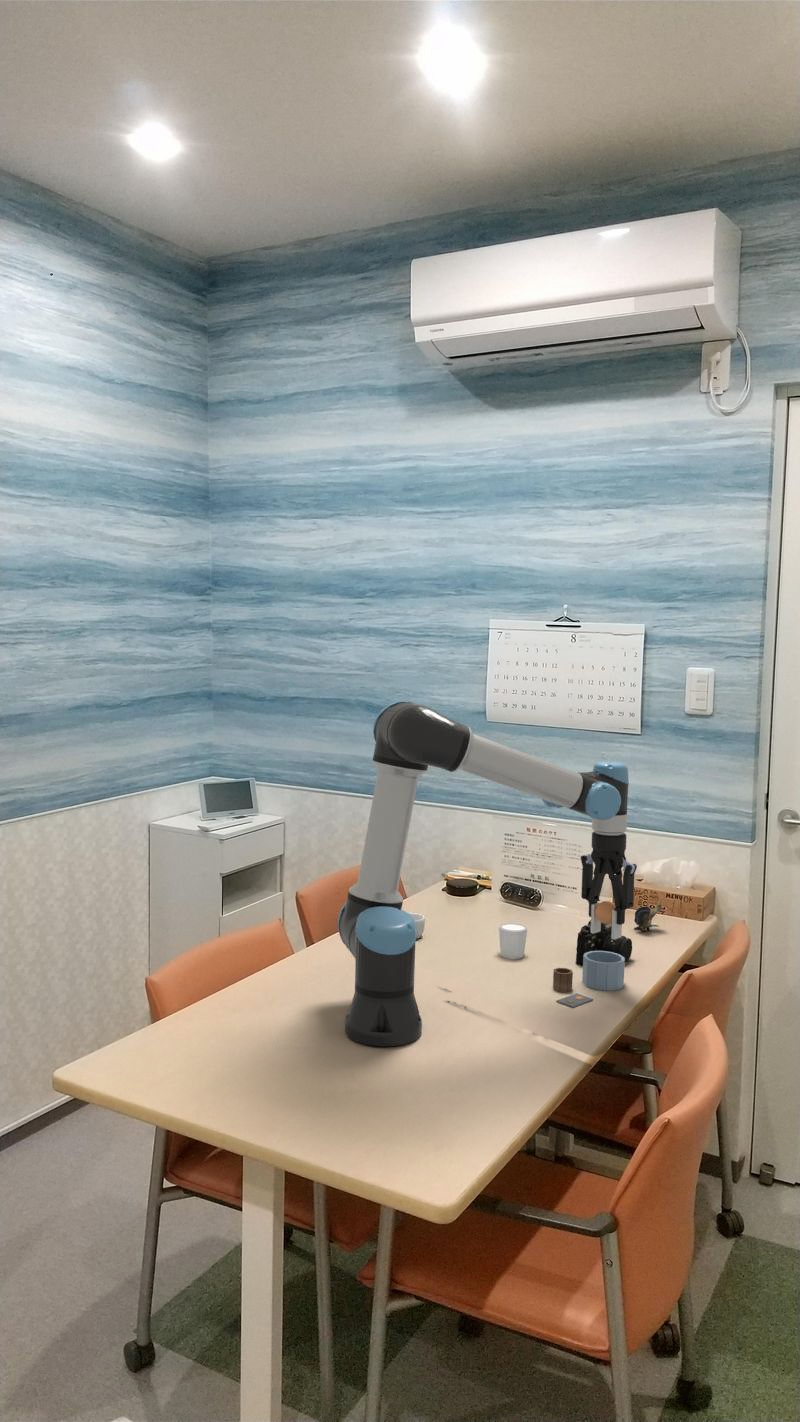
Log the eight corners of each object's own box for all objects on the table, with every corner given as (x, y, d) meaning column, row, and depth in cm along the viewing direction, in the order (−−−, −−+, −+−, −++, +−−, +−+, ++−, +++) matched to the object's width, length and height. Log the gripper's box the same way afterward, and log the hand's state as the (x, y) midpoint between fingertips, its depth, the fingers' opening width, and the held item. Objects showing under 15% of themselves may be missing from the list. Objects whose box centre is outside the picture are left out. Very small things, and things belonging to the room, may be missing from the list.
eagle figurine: (653, 942, 253) (655, 908, 252) (627, 937, 257) (628, 903, 256) (663, 936, 259) (665, 902, 258) (637, 931, 263) (639, 897, 262)
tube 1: (563, 993, 214) (564, 975, 214) (549, 988, 217) (550, 970, 217) (575, 989, 217) (576, 971, 216) (561, 984, 220) (561, 966, 219)
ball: (608, 928, 217) (609, 905, 216) (590, 922, 220) (591, 900, 220) (622, 923, 220) (623, 901, 220) (603, 919, 224) (604, 897, 223)
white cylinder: (527, 960, 236) (528, 931, 235) (499, 959, 236) (500, 930, 236) (524, 951, 243) (525, 923, 242) (496, 950, 243) (497, 922, 242)
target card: (572, 1007, 205) (573, 1005, 205) (556, 1001, 209) (556, 1000, 209) (593, 1000, 210) (593, 998, 210) (576, 994, 213) (576, 992, 213)
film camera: (627, 975, 227) (629, 933, 227) (573, 968, 231) (575, 926, 230) (634, 953, 244) (636, 913, 243) (584, 947, 248) (585, 908, 247)
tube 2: (607, 993, 215) (608, 966, 214) (574, 982, 221) (575, 955, 221) (631, 984, 221) (632, 958, 220) (598, 974, 227) (599, 948, 227)
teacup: (405, 931, 257) (405, 911, 257) (430, 936, 253) (430, 916, 253) (383, 940, 249) (383, 919, 249) (408, 946, 245) (409, 924, 244)
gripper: (653, 836, 215) (650, 941, 216) (586, 824, 228) (583, 923, 229) (633, 840, 209) (630, 947, 211) (566, 827, 223) (563, 929, 224)
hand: (605, 934), depth 220 cm, fingers closed on ball, 5 cm apart
